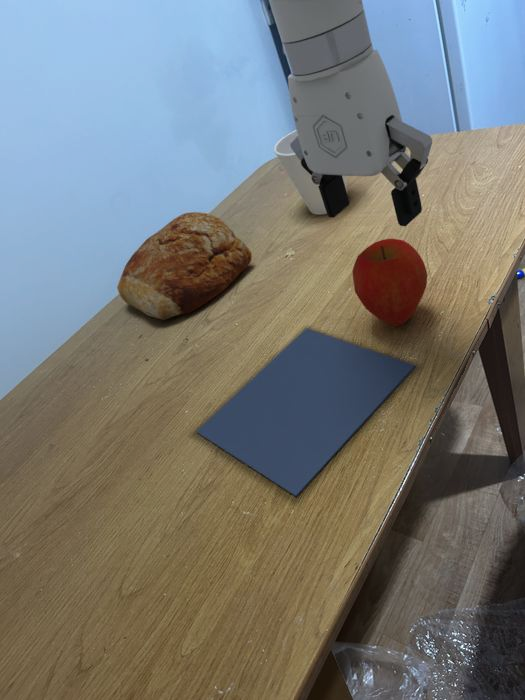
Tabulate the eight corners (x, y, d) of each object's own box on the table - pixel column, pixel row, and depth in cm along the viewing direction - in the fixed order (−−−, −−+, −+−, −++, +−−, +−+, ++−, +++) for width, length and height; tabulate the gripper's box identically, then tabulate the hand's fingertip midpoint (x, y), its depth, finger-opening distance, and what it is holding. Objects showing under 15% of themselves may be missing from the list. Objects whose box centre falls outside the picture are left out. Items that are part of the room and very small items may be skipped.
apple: (433, 341, 66) (415, 263, 60) (360, 347, 70) (337, 274, 63) (438, 295, 72) (422, 220, 66) (371, 303, 76) (350, 232, 69)
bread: (259, 265, 94) (237, 211, 88) (178, 335, 86) (147, 280, 80) (187, 248, 108) (163, 201, 102) (112, 307, 101) (81, 259, 95)
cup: (287, 226, 101) (263, 160, 93) (308, 191, 108) (287, 128, 101) (351, 218, 95) (331, 146, 87) (369, 182, 102) (351, 114, 95)
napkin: (415, 367, 64) (415, 365, 64) (296, 497, 56) (295, 495, 56) (307, 329, 76) (306, 328, 76) (197, 433, 68) (196, 431, 68)
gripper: (239, 74, 57) (294, 225, 67) (378, 53, 44) (421, 243, 54) (290, 43, 60) (335, 192, 69) (434, 15, 47) (465, 202, 57)
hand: (373, 214), depth 62 cm, fingers open, 9 cm apart
